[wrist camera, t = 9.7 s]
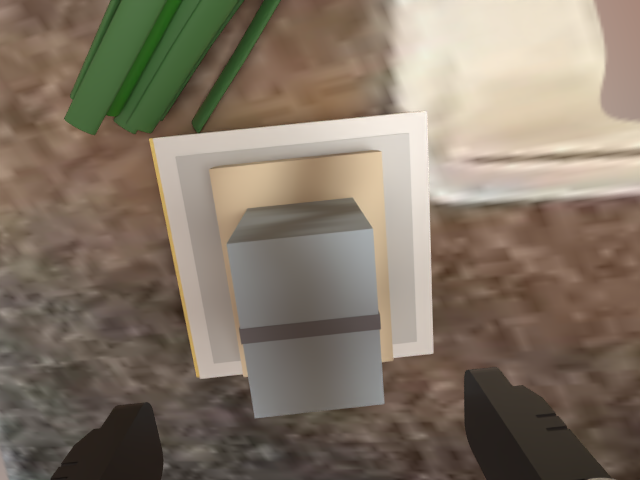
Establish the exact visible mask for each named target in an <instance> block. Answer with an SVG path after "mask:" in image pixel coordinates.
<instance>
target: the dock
mask: <svg viewBox="0 0 640 480" xmlns="http://www.w3.org/2000/svg"><path fill="white" fill-rule="evenodd" d="M149 141H150V146H151V151H152V156H153V161H154V166H155V171H156V176H157V181H158V186H159V191H160V196H161V201H162V206H163V211H164V216H165V221H166V226H167V231H168V236H169V241H170V246H171V251H172V256H173V261H174V266H175V271H176V276H177V281H178V286H179V291H180V296H181V301H182V306H183V311H184V316H185V321H186V326H187V331H188V336H189V341H190V346H191V351H192V356H193V361H194V366H195V371H196V376H197V377H200V379H203V378H212V377H222V376H231V375H240V374H243V371H242V365H241V359H240V353H239V347H238V341H237V335H236V329H235V323H234V317H233V311H232V305H231V299H230V293H229V287H228V281H227V275H226V269H225V263H224V257H223V251H222V245H221V239H220V233H219V227H218V221H217V215H216V209H215V203H214V197H213V191H212V185H211V179H210V173H209V169H210V168H212V167H216V166H222V165H232V164H242V163H251V162H261V161H271V160H281V159H291V158H301V157H310V156H320V155H330V154H340V153H350V152H359V151H369V150H379V151H382V166H383V184H384V202H385V220H386V238H387V256H388V274H389V291H390V309H391V327H392V345H393V358H397V357H406V356H415V355H425V354H433V320H432V282H431V243H430V204H429V165H428V126H427V111H418V112H404V113H394V114H384V115H374V116H364V117H354V118H344V119H334V120H324V121H314V122H304V123H294V124H284V125H274V126H264V127H254V128H244V129H234V130H224V131H214V132H204V133H194V134H184V135H174V136H167V137H158V138H150V139H149Z"/></svg>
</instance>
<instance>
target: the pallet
mask: <svg viewBox="0 0 640 480" xmlns="http://www.w3.org/2000/svg"><path fill="white" fill-rule="evenodd" d="M209 173H210V179H211V185H212V191H213V197H214V203H215V209H216V215H217V221H218V227H219V233H220V239H221V245H222V251H223V257H224V263H225V269H226V275H227V281H228V287H229V293H230V299H231V305H232V311H233V317H234V323H235V329H236V335H237V341H238V347H239V353H240V359H241V365H242V371H243V377H248V379H249V385H250V391H251V397H252V403H253V409H254V416H255V418H262V417H271V416H280V415H289V414H298V413H307V412H316V411H325V410H334V409H343V408H352V407H361V406H370V405H380V404H384V390H383V375H382V362H387V361H393V345H392V327H391V309H390V291H389V274H388V256H387V238H386V220H385V202H384V184H383V166H382V151H379V150H369V151H359V152H350V153H340V154H330V155H320V156H310V157H301V158H291V159H281V160H271V161H261V162H251V163H242V164H232V165H222V166H216V167H212V168H210V169H209Z"/></svg>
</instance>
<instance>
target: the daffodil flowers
mask: <svg viewBox="0 0 640 480" xmlns="http://www.w3.org/2000/svg"><path fill="white" fill-rule="evenodd" d="M243 1H244V0H111V1H110V3H109V5H108V8H107V10H106V12H105V15H104V17H103V19H102V22H101V24H100V27H99V29H98V31H97V34H96V36H95V38H94V41H93V43H92V45H91V48H90V50H89V52H88V55H87V57H86V59H85V62H84V64H83V66H82V69H81V71H80V73H79V76H78V78H77V80H76V83H75V85H74V87H73V90H72V92H71V94H70V98H71V99H73V101H72V103H71V105H70V107H69V109H68V112H67V114H66V116H65V118H64V119H65V121H67V122H68V123H69V124H71V125H73V126H74V127H76V128H78V129H80V130H82V131H84V132H86V133H89V134H92V135H95V134H96V132H97V130H98V129H99V127H100V125H101V123H102V121H103V119H104V117H105V115H108V116H115V118H114V122H115V123H117V124H118V125H119V126H121V127H122V128H124V129H125V130H127V131H129V132H131V133H133V134H136V132H137V130H140V131H143V132H146V133H152V132H153V130H154V129H155V127H156V125H157V124H158V122H159V121H163V119H164V118H165V116H166V115H167V113H168V112H169V110H170V108H171V107H172V105H173V104H174V102H175V101H176V99H177V98H178V96H179V95H180V93H181V92H182V90H183V89H184V87H185V85H186V84H187V82H188V81H189V79H190V78H191V76H192V75H193V73H194V72H195V70H196V69H197V67H198V66H199V64H200V62H201V61H202V59H203V58H204V56H205V55H206V53H207V52H208V50H209V49H210V47H211V46H212V44H213V43H214V42H215V40H216V39H217V37H218V36H219V35H220V33H221V32H222V31H223V29H224V28H225V26H226V25H227V24H228V22H229V21H230V19H231V18H232V17H233V15H234V14H235V12H236V11H237V10H238V8H239V7H240V5H241V4H242V3H243ZM280 1H281V0H264V1H263V3H262V5H261V6H260V8H259V10H258V11H257V13H256V15H255V17H254V18H253V20H252V22H251V24H250V25H249V27H248V29H247V31H246V32H245V34H244V36H243V38H242V39H241V41H240V43H239V45H238V46H237V48H236V50H235V52H234V53H233V55H232V56H231V58H230V60H229V61H228V63H227V65H226V66H225V68H224V70H223V71H222V73H221V74H220V76H219V78H218V79H217V81H216V83H215V84H214V86H213V87H212V89H211V91H210V92H209V94H208V96H207V97H206V99H205V101H204V102H203V104H202V105H201V107H200V109H199V110H198V112H197V114H196V115H195V117H194V118H193V120H192V125H193V127H194V129H195V130H196V131H197V132H198V133H200V131H201V130H202V128H203V126H204V125H205V123H206V122H207V120H208V119H209V117H210V115H211V114H212V112H213V111H214V109H215V108H216V106H217V104H218V103H219V101H220V100H221V98H222V96H223V95H224V93H225V92H226V90H227V89H228V87H229V85H230V84H231V82H232V81H233V79H234V78H235V76H236V74H237V73H238V71H239V70H240V68H241V66H242V65H243V63H244V62H245V60H246V58H247V57H248V55H249V53H250V52H251V50H252V48H253V46H254V45H255V43H256V41H257V40H258V38H259V36H260V35H261V33H262V31H263V30H264V28H265V26H266V25H267V23H268V21H269V20H270V18H271V16H272V14H273V13H274V11H275V9H276V8H277V6H278V4H279V3H280Z"/></svg>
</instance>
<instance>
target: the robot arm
mask: <svg viewBox="0 0 640 480" xmlns="http://www.w3.org/2000/svg"><path fill="white" fill-rule="evenodd" d="M464 410H465V430H466V435H467V439H468V442H469V445H470V447H471V450H472V452H473V454H474V456H475V458H476V460H477V462H478V463H479V465H480V467H481V469H482V471H483V473H484V475H485V477H486V479H487V480H615V479H612V478H611V477H610V476H609V475H608V474H607V472H606V471H605V470H604V469H603V468H602V467H601V465H600V464H599V463H598V462H597V461H596V460H595V458H594V457H593V456H592V455H591V454H590V453H589V451H588V450H587V449H586V448H585V447H584V446H583V444H582V443H581V442H580V441H579V440H578V439H577V437H576V436H575V435H574V434H573V433H572V432H571V430H570V429H567V426H566V425H565V423H564V422H563V421H562V420H561V419H560V418H559V416H556V414H555V412H554V411H553V409H552V408H551V407H550V406H549V405H548V404H547V403H546V401H545V400H544V399H543V398H542V397H541V396H539V395H537V394H536V393H534V392H533V391H531V390H529V389H528V388H526V387H524V386H523V385H522V386H512V385H511V384H510V382H509V381H508V380H507V378H506V377H505V376H504V375H503V373H502V372H501V371H500V370H499V369H498V368H497V367H492V368H482V369H472V370H466V372H465V376H464ZM61 464H62V465H61V467H58V469H57V470H56V472H55V473H54V474H53V476H52V477H51V480H161V476H162V472H163V452H162V447H161V443H160V439H159V434H158V430H157V426H156V422H155V417H154V413H153V409H152V407H151V405H150V404H149V403H148V402H146V403H136V404H126V405H118V406H116V407H115V408H114V409H113V410H112V412H111V413H110V415H109V416H108V418H107V419H106V421H105V422H104V424H103V425H102V427H101V428H99V429H93V430H92V431H91V432H90V433H88V434H87V435H86V436H85V437H84V438H82V439H81V440H80V441H79V442H78V443H76V444H75V445H74V446H73V448H72V449H71V451H70V452H69V453H68V455H67V456H66V458H65V459H64V460H63V462H62V463H61Z"/></svg>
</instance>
